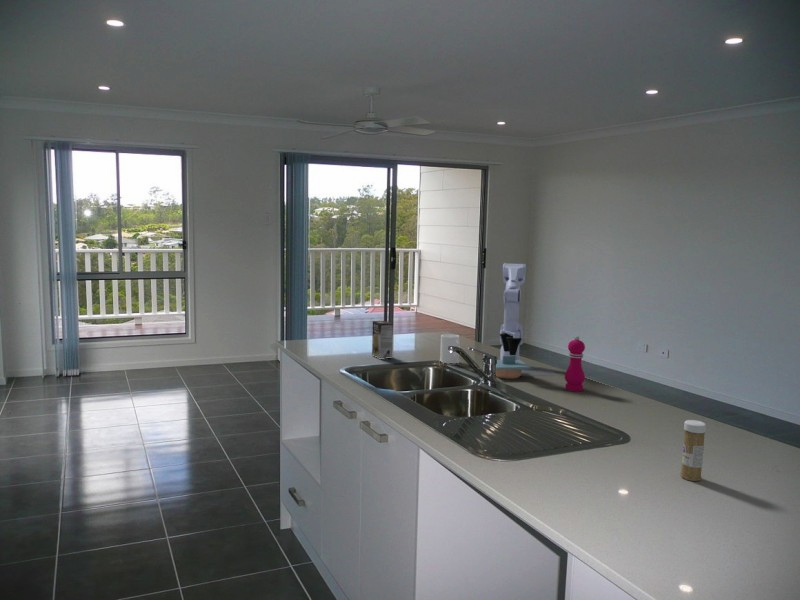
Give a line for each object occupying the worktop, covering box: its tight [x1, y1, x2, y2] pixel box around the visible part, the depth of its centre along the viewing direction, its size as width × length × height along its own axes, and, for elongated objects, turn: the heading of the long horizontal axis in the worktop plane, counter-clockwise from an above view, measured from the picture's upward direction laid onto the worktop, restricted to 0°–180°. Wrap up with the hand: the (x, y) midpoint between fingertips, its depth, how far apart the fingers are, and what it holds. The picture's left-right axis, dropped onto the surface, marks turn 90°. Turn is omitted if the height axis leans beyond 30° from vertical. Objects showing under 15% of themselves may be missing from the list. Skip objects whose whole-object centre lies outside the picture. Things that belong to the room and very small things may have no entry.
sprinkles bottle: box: [680, 419, 707, 482], centre depth 144 cm, size 5×5×13 cm
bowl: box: [495, 369, 522, 380], centre depth 246 cm, size 10×10×4 cm
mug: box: [439, 333, 461, 364], centre depth 268 cm, size 12×8×12 cm
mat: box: [521, 366, 561, 377], centre depth 255 cm, size 16×16×1 cm
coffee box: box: [371, 320, 394, 358], centre depth 277 cm, size 9×6×16 cm
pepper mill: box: [564, 335, 586, 392], centre depth 227 cm, size 7×7×20 cm
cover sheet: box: [496, 356, 532, 369], centre depth 245 cm, size 14×14×4 cm
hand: (509, 353), depth 245 cm, fingers open, 7 cm apart
